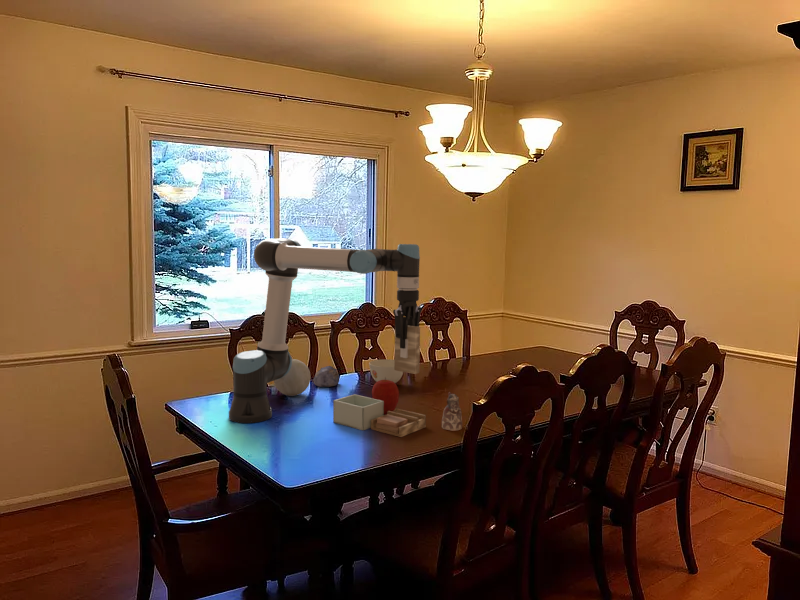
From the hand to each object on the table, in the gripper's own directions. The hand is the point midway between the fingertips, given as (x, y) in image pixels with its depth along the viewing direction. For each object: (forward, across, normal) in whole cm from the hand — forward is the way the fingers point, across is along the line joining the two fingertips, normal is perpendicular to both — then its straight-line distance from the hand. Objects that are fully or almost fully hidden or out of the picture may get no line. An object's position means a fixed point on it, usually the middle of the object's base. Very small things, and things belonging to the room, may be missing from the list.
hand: (406, 356), depth 215 cm
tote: (+24, -9, +14) cm, 30 cm away
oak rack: (+24, -4, 0) cm, 25 cm away
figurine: (+25, +8, -14) cm, 29 cm away
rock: (+25, +22, +62) cm, 70 cm away
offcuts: (+24, -7, 0) cm, 25 cm away
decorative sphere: (+25, +1, +60) cm, 65 cm away
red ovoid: (+25, +6, +15) cm, 29 cm away
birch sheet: (+5, 0, 0) cm, 5 cm away
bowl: (+25, +40, +41) cm, 62 cm away
